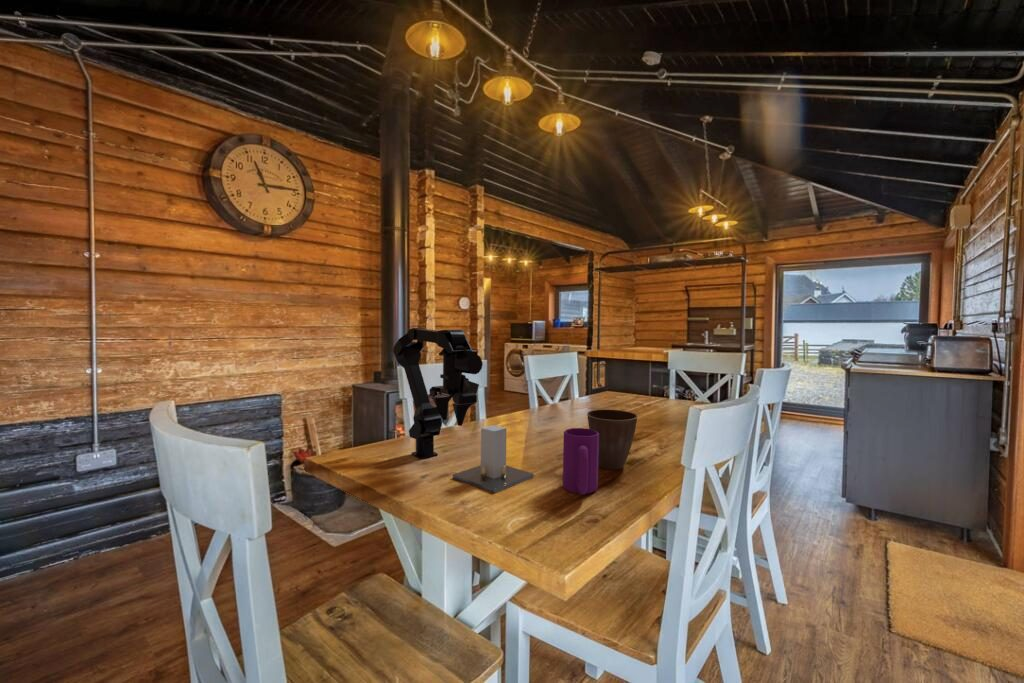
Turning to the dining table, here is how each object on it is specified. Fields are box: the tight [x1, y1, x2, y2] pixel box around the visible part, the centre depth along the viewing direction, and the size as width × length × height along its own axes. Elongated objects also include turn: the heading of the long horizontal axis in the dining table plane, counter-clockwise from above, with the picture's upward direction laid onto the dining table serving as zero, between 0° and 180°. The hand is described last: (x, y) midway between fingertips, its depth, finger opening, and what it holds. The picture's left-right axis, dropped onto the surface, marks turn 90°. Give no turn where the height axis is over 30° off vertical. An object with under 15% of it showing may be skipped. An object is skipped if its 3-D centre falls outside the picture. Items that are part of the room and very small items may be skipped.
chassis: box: [452, 464, 534, 494], centre depth 122 cm, size 16×16×4 cm
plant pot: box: [586, 409, 639, 471], centre depth 133 cm, size 15×15×16 cm
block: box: [480, 424, 507, 479], centre depth 122 cm, size 5×5×13 cm
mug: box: [562, 427, 599, 495], centre depth 112 cm, size 9×16×15 cm, turn 176°
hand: (452, 422), depth 131 cm, fingers open, 9 cm apart
